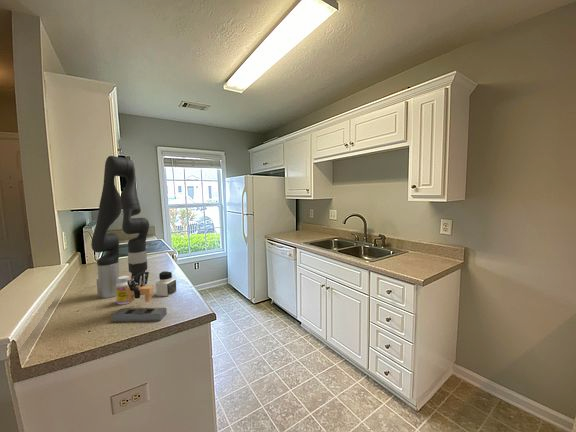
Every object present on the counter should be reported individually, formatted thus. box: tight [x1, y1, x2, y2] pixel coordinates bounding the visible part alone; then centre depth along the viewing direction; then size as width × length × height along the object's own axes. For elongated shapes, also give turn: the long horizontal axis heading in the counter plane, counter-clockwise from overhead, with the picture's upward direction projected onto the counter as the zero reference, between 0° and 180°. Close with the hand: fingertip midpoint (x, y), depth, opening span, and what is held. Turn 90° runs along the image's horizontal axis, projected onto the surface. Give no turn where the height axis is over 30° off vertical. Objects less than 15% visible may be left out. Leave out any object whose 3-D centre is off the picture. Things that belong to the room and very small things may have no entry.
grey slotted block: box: [111, 307, 168, 323], centre depth 107 cm, size 20×6×3 cm, turn 91°
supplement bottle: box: [115, 275, 131, 305], centre depth 123 cm, size 7×7×13 cm
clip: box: [125, 285, 154, 303], centre depth 117 cm, size 11×3×6 cm, turn 91°
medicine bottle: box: [155, 270, 177, 297], centre depth 134 cm, size 7×7×12 cm
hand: (139, 296), depth 117 cm, fingers closed on clip, 3 cm apart
